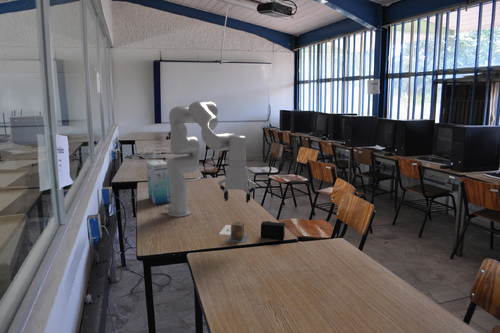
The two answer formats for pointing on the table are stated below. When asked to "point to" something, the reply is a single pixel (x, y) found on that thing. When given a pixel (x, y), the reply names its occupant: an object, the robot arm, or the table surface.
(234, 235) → the walnut block
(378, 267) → the table surface
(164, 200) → the toothbrush box
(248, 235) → the rubber mat
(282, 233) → the digital camera
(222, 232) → the card
